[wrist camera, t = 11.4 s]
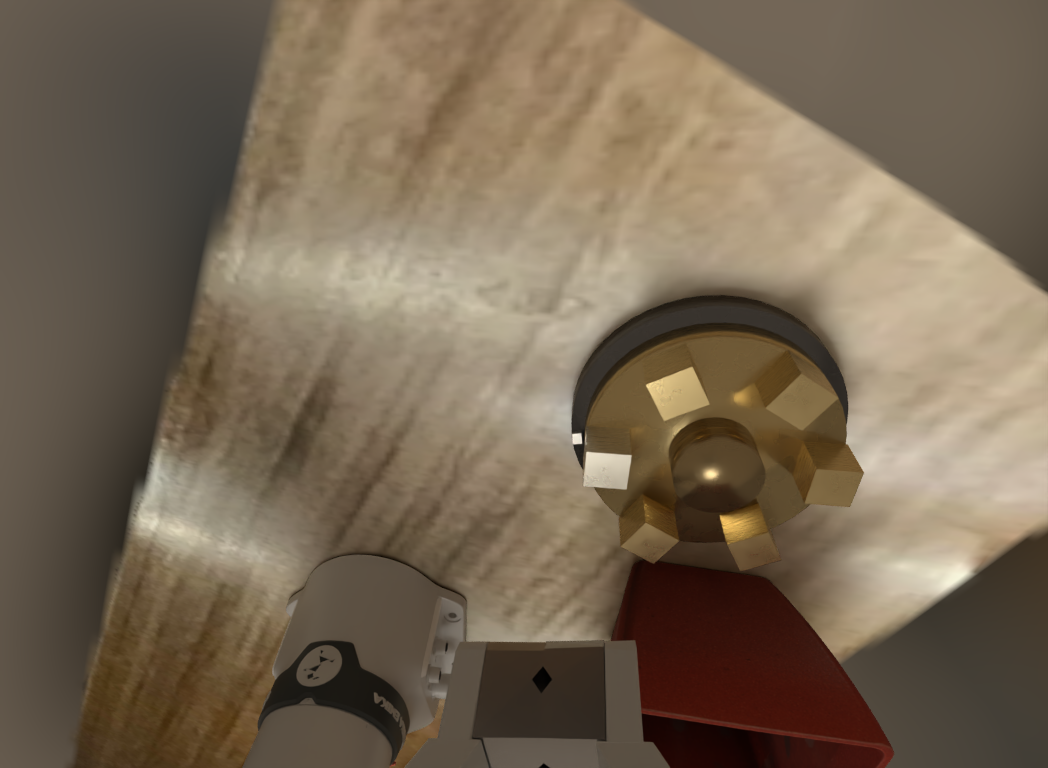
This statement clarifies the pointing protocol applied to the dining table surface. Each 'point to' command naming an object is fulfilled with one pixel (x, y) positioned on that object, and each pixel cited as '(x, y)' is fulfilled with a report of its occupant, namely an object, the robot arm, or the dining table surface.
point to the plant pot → (739, 676)
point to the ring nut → (716, 441)
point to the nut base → (686, 315)
